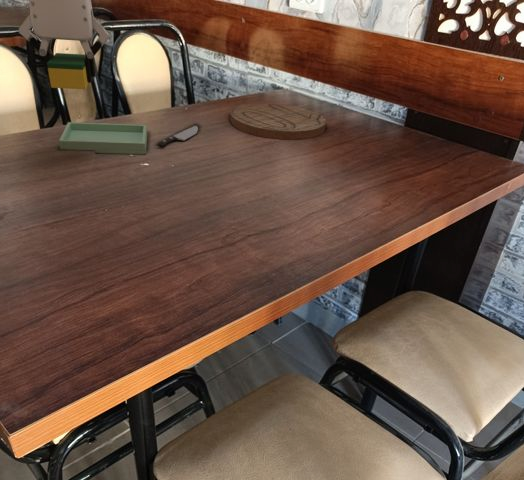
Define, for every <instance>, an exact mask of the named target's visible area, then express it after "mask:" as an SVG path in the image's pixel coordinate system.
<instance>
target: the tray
mask: <svg viewBox="0 0 524 480" xmlns="http://www.w3.org/2000/svg"><path fill="white" fill-rule="evenodd" d="M58 143H59V150H70V151H71V150H72V151H73V150H74V151H94V153H95V154H117V155H118V154H122V155H123V154H124V155H146V154H147V143H148V125H147V124H129V123H104V122H103V123H102V122H75V121H73V122H72V121H71V122H70V121H68V122H67V123H66V125H65V128H64V129H63V131H62V134H61V136H60V138H59V140H58Z"/></svg>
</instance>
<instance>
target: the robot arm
mask: <svg viewBox="0 0 524 480" xmlns="http://www.w3.org/2000/svg"><path fill="white" fill-rule="evenodd" d="M28 5H29V12H30V13H29V14H28V15H27V17H26V18H25V20H24V21H23V22H22V24H21V25H20V27H19V28H18V33H19V34H20V35H21V36H22V37H23V38H24V39H25V40H26V41H28V42H29V44H30V45H31V46H32V47H33V48H34V49H35V50H36V51H37V52H38V53H39V54H40V56H42V60H43V65H44V72H45V75H48V76H49V72H48V66H47V62H48V61H49V60H50V59H51V58H52V57H53V56H54V54H53V53H52V51H51V46H52V40H62V41H79V43H80V45H81V47H82V49H83V51H84V55H85V56H86V58H85V59H84V61H85V67H86V75H87V82H88V83H89V84H91V83H93V81H94V78H96V77H97V72H96V64H95V56H96V54H97V53H98V52H99V51H100V50H101V48H102V47H103V46H104V45H105V44H106V43H107V41H108V40H109V39H110V37H111V35H110V33H109V32H108V30H107V29H106V28H105V27H104V26H103V25H102V24H101V23H100V22H99V21H98V20H97V19H96V17H95V16H94V12H93V11H94V10H93V6H92V5H93V4H92V0H28ZM31 28H32V30H33V33H32V31H31ZM96 33H97V34H98V36H99V37H98V38H97V40H96V41H94V42H93V43H92V42H91V39H92V38H93V36H94V35H95V34H96ZM35 35H36V36H35ZM38 37H39V38H41V39H39V38H38Z"/></svg>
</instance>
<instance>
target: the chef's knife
mask: <svg viewBox="0 0 524 480" xmlns="http://www.w3.org/2000/svg"><path fill="white" fill-rule="evenodd" d="M198 130H199V127H198V125H194V126H191V127H189V128H187V129H184V130H182V131H180V132H178V133H176V134H174V135H171V136H169V137H168V138H165V139H163V140H161V141H159V142H158V143H157V146H158V147H160V148H163V147H164V146H165V145H166V144H169V143H171V142H174V141H185V140H187V139H189V138H191V137H193V136H195V135H196V134H197V133H198Z"/></svg>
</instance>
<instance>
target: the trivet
mask: <svg viewBox="0 0 524 480" xmlns="http://www.w3.org/2000/svg"><path fill="white" fill-rule="evenodd" d="M230 124H231V125H232V126H233V127H234V128H235V129H237V130H239V131H241V132H244V133H246V134H250V135H253V136H257V137H262V138H267V139H275V140H305V139H311V138H315V137H318V136H321V135H322V134H323V133H324V132H326V124H327V120H326V118H325V117H324V115H322V114H320V113H318V112H316V111H314V110H311V109H308V108H304V107H301V106H295V105H292V104H283V103H269V102H260V103H259V102H257V103H247V104H242V105H239V106H236V107H235V108H233V109H231V111H230Z"/></svg>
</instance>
